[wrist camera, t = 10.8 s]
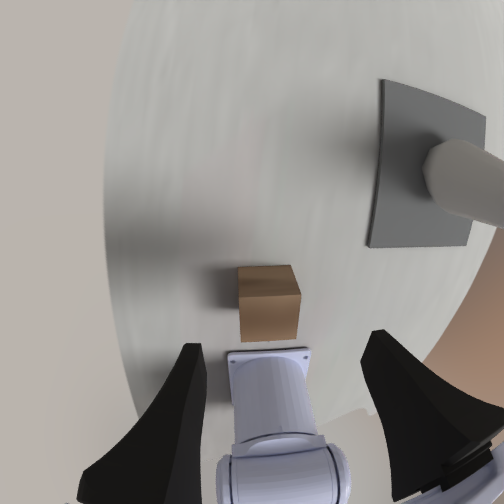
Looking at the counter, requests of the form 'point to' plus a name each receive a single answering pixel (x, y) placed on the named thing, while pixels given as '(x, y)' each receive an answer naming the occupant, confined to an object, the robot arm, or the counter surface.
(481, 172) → the salt shaker
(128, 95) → the counter surface
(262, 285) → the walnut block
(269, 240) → the counter surface
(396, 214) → the rubber mat
